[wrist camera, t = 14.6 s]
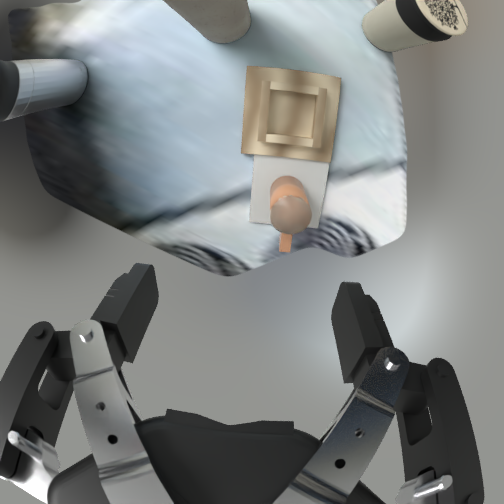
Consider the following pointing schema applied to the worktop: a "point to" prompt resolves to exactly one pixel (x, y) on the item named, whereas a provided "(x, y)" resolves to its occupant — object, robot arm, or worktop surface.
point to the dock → (290, 113)
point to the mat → (277, 166)
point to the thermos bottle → (215, 17)
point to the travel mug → (413, 23)
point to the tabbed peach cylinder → (288, 209)
